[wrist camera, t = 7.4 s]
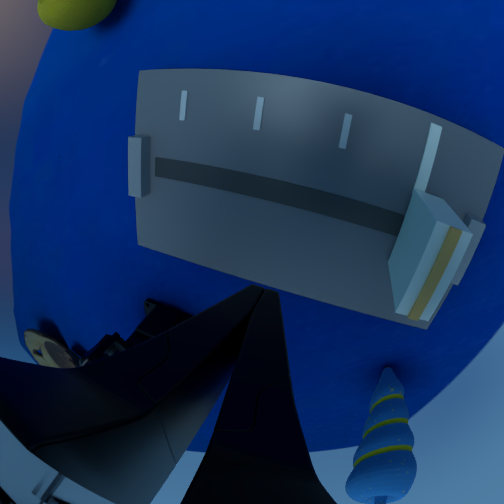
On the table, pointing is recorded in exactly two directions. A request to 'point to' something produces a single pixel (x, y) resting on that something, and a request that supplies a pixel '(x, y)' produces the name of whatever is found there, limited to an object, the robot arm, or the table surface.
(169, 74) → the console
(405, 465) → the ornament
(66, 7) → the lemon
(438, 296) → the fader tab
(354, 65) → the table surface
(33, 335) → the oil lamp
